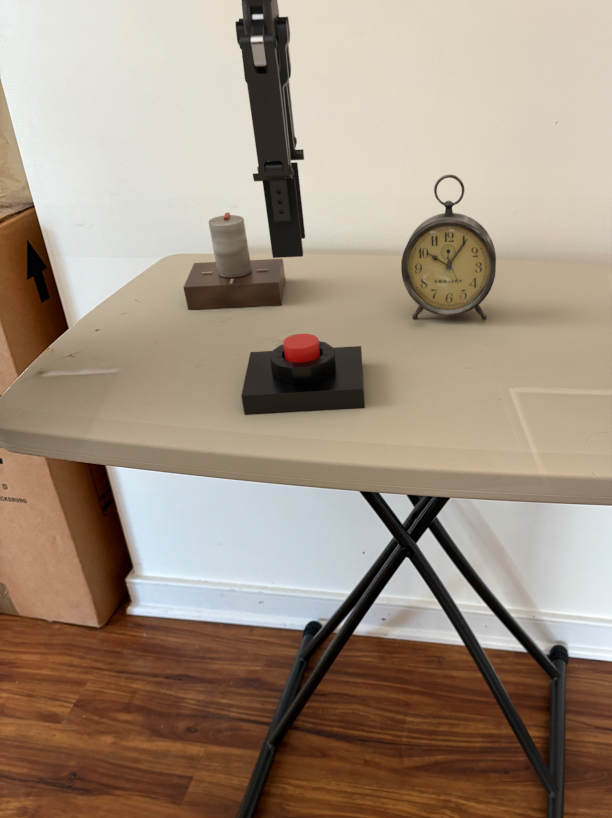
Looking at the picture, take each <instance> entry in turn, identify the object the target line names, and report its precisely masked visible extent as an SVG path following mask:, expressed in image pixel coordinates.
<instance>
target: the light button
mask: <svg viewBox="0 0 612 818" xmlns="http://www.w3.org/2000/svg"><path fill="white" fill-rule="evenodd" d="M319 341H320V340H319V337H317V335H314V334H311V333H297V334H292V335H289V336H287V337H285V338H284V340H283V341H282V344H283V347H284V354H285V359H286V361H290V362H295V363H300V362H309V361H313V360H316V359H318V358H319V357H320V347H319Z"/></svg>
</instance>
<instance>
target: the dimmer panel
mask: <svg viewBox="0 0 612 818" xmlns="http://www.w3.org/2000/svg"><path fill="white" fill-rule="evenodd" d="M250 262H251V269H252V270H251V272H250V273H249V274H247V275H244V276H241V277H234V278H228V277H222V276H220V275H218V272H217V267H216V261H209V262H193V264H192V267H191V269H190V271H189V274H188V276H187V279H186V280H185V283H184V284H183V291H184V295H185V296H184V297H185V301H186V306H187V310H188V311H193V310H211V309H229V308H230V309H231V308H234V309H235V308H251V307H268V306H282V304H283V298H284V292H285V286H286V273H285V266H284V259H283V258H270V259H269V258H268V259H250Z"/></svg>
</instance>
